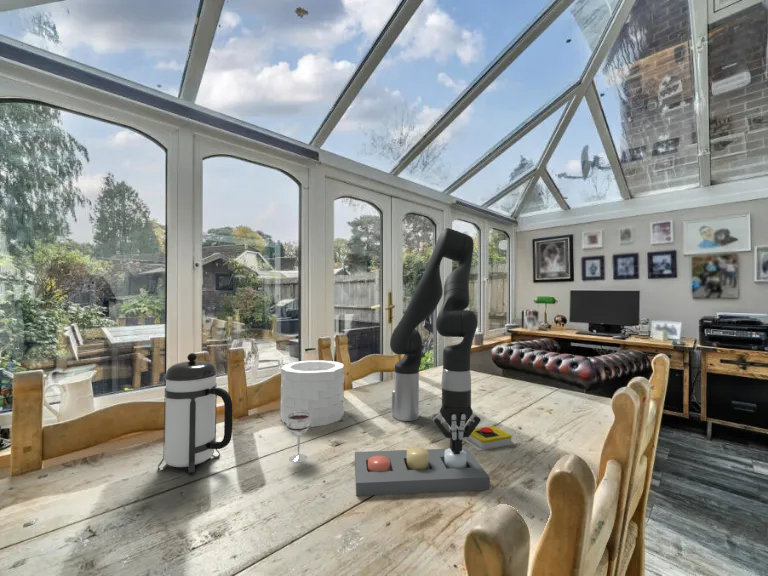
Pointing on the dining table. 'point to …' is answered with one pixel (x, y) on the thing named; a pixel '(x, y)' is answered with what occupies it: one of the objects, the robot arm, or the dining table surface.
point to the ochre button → (417, 458)
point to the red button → (378, 464)
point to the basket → (313, 390)
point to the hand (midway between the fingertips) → (456, 452)
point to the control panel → (417, 475)
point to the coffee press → (193, 414)
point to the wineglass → (298, 430)
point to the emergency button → (489, 438)
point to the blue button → (454, 459)
